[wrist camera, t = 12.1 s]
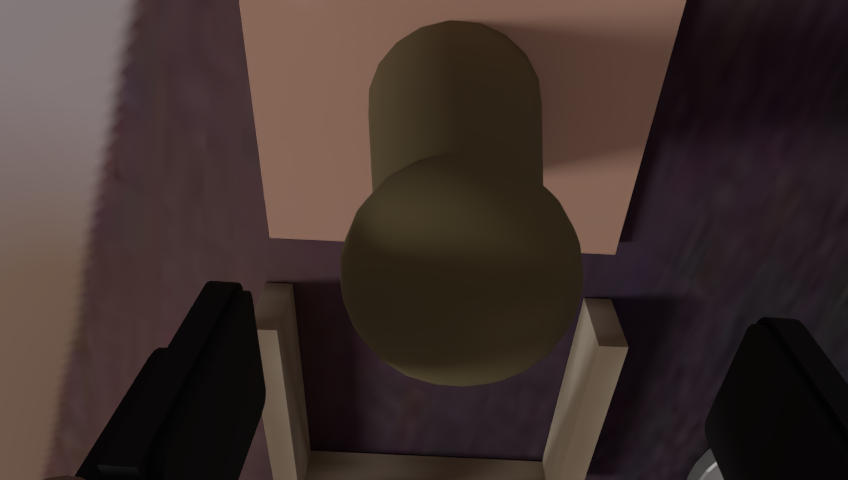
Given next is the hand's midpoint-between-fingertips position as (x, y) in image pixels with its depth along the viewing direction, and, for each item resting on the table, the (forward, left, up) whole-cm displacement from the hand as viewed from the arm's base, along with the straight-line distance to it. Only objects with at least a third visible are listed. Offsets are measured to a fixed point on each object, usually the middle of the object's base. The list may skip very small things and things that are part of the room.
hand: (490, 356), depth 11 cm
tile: (+1, -1, -12) cm, 12 cm away
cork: (+1, 0, -12) cm, 12 cm away
